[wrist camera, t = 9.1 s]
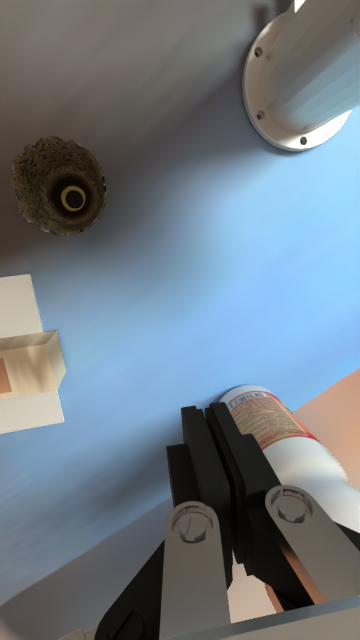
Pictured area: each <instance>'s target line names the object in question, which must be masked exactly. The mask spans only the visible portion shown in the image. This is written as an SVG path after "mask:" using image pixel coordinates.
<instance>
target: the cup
mask: <svg viewBox="0 0 360 640" xmlns="http://www.w3.org/2000/svg"><path fill="white" fill-rule="evenodd" d="M24 149H25V152H24V153H23V154H22V155H18V156H17V157H16V158H15V159H14V160H13V162H12V176H10V179H9V183H10V185H11V186H12V187H13V188H14V189H15V192H16V195H15V196H16V198H17V199H18V204H16V206H17V208H18V209H19V210H20V211H22V213H23V217H24V219H25V220H26V221H28V222H29V223H31V224H33V225H36V226H38V227H39V228H40V229H41V231H44V232H47V233H49V232H52V233H53V234H57V235H74V234H77V233H79V232H81V231H85V230H87V229H89V227H90V226H92V225H93V224H94V223H95V222H96V221H97V220H98V219H99V217H100V216H101V214H102V212H103V209H104V206H105V203H106V199H107V194H106V184H105V180H104V173H103V171H102V169H101V167H100V166H99V165H98V163H97V161H96V159H95V157H94V156H93V155H92V154H91V152H90V151H88V150H87V149H85V148H82V147H79V146H77V144H76V143H75V142H74V141H73V140H71V139H69V140H68V141H67V142H65V141H63V140H62V139H61V138H59V137H55V136H52V137H49V139H48V138H46V139H45V138H40V140H39V141H38V142H37V143H36V146H32V145H26V146H25V148H24ZM71 191H77V192H78V193H80V194H81V196H82V199H83V201H82V204H81V205H80V206H79V207H77V208H74V207H71V206H69V205H68V203H67V201H66V196H67V194H68V193H69V192H71Z"/></svg>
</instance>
